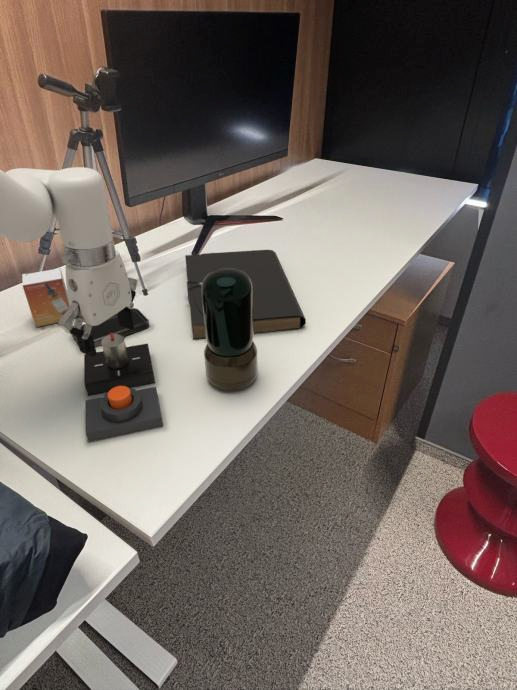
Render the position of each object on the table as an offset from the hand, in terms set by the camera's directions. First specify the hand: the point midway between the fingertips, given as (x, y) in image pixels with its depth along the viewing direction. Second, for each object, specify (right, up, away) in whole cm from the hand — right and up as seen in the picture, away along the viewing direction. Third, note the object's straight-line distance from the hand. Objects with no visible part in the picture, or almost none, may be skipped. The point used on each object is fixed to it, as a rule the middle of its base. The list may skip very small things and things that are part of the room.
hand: (108, 339), depth 86 cm
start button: (+4, -10, -6) cm, 13 cm away
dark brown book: (+22, +11, +29) cm, 38 cm away
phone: (-5, +2, +17) cm, 18 cm away
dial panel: (+1, -7, +5) cm, 8 cm away
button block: (+4, -13, -4) cm, 15 cm away
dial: (+1, -4, +3) cm, 5 cm away
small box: (-19, +5, +22) cm, 29 cm away
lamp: (+22, -7, +4) cm, 23 cm away
